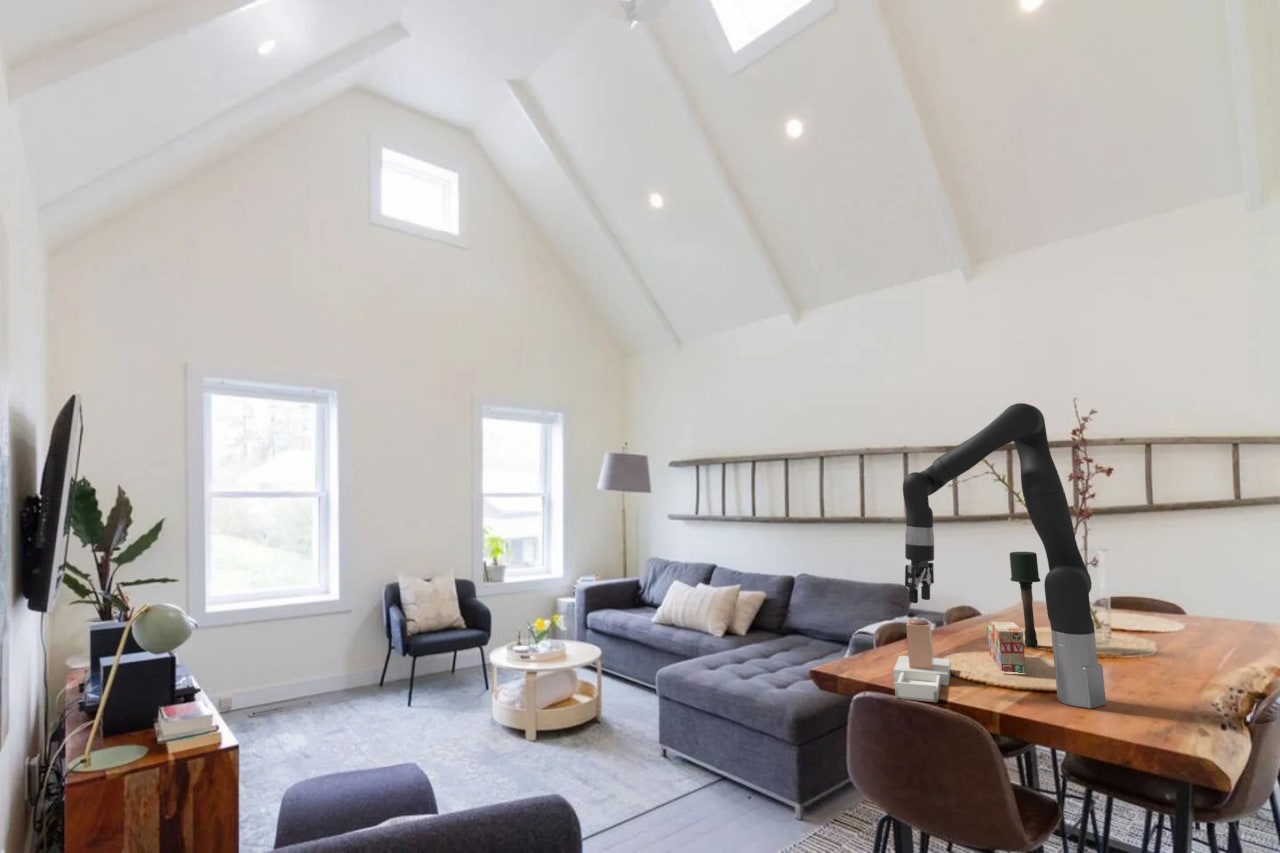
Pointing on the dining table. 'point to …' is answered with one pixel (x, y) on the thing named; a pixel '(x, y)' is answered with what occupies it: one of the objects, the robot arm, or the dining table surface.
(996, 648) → the stack of blocks
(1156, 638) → the dining table surface
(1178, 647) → the dining table surface
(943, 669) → the white windowed box
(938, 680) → the tray
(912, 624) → the tan piece
